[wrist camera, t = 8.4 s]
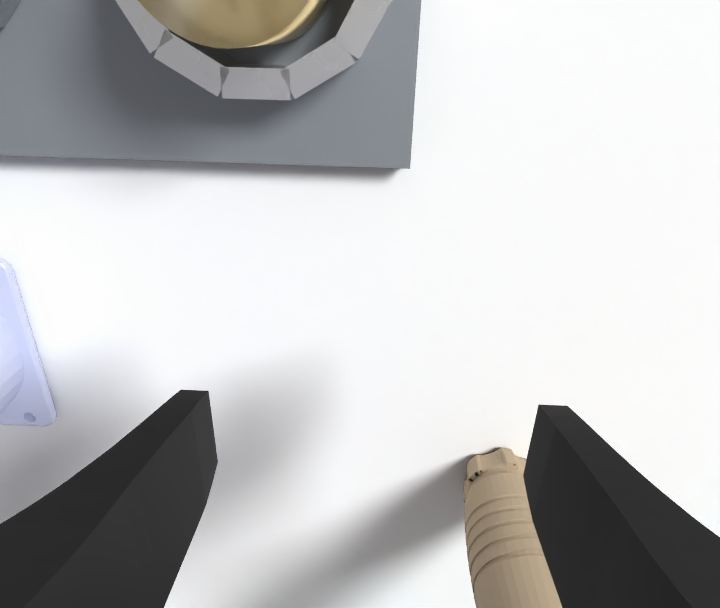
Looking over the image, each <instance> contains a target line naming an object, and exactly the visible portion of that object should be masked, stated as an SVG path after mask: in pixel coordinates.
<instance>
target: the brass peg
mask: <svg viewBox="0 0 720 608" xmlns="http://www.w3.org/2000/svg"><path fill="white" fill-rule="evenodd" d="M138 1H139V2H140V4H141V5H142V6H143V7H144V8H145V9H146V10H147V11H148V12H149V13H150V14H151V15H152V16H153V17H154V18H155V19H156V20H157V21H159V22H160V23H161V24H162V25H163V26H165V27H166V28H168V29H169V30H171V31H172V32H174V33H175V34H177V35H179V36H181V37H183V38H185V39H187V40H189V41H192V42H195V43H198V44H200V45H204V46H209V47H214V48H226V49H231V48H243V47H253V46H263V45H273V44H280V43H285V42H288V41H291V40H293V39H296V38H298V37H300V36H301V35H303V34H305V33H306V32H307V31H309V30H310V29H311V28H312V27H314V25H315V24H316V23H317V22H318V21H319V20H320V19H321V18H322V16H323V15H324V13H325V12H326V11H327V9H328V7H329V5H330V3H331V1H332V0H138Z"/></svg>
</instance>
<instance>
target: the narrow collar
mask: <svg viewBox="0 0 720 608" xmlns="http://www.w3.org/2000/svg"><path fill="white" fill-rule="evenodd" d="M21 1H22V0H0V28H5V27H6V25H7V23H8V22H9V20H10V19H11V17H12V16H13V14H14V12H15V11H16V9H17V8H18V6H19V4H20V3H21Z"/></svg>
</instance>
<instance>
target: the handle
mask: <svg viewBox="0 0 720 608" xmlns="http://www.w3.org/2000/svg"><path fill="white" fill-rule="evenodd" d="M526 460H527V459H525V458H519V457H517V456H515V455H514V454H513V452H512V450H511V449H506V448H499V449H498V450H496V451H495V452H492V453H489V454H485V455H476V456H474V457H473V458H472V459H470V461H469V462H468V464H467V475H468V477H467V479H465V482H464V502H465V532H466V545H467V555H468V561H469V570H470V575H471V582H472V588H473V593H474V599H475V603H476V608H562V605H561V602H560V599H559V596H558V593H557V591H556V588H555V585H554V582H553V579H552V576H551V573H550V570H549V568H548V565H547V562H546V559H545V556H544V553H543V550H542V547H541V544H540V541H539V538H538V536H537V533H536V530H535V527H534V523H533V520H532V516H531V512H530V507H529V503H528V498H527V493H526V488H525V483H524V478H523V473H524V469H525V464H526Z"/></svg>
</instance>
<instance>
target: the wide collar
mask: <svg viewBox="0 0 720 608" xmlns="http://www.w3.org/2000/svg"><path fill="white" fill-rule="evenodd" d="M115 1H116V2H117V4H118V5H119V7H120V8H121V10H122V11H123V13H124V15H125V16H126V18H127V19H128V21H129V22H130V24H131V25H132V27H133V28H134V30H135V31H136V33H137V35H138V36H139V38H140V39H141V41H142V42H143V44H144V45H145V47H146V48H147V50H148V51H149V53H150V54H151V53H155V56H154V58H155V59H157V60H159V61H160V62H162V63H164V64H165V65H167V66H168V67H170V68H172V69H173V70H175V71H177V72H178V73H180V74H181V75H183V76H185V77H186V78H188V79H190V80H191V81H193V82H194V83H196V84H198V85H199V86H201V87H203V88H204V89H206V90H207V91H209V92H211V93H212V94H214V95H215V96H217V97H219V96H222V98H227V99H261V100H292V99H293V98H295V99H296V98H298V97H300V96H301V95H303V94H305V93H306V92H308V91H310V90H311V89H313V88H315V87H316V86H318V85H319V84H321V83H323V82H324V81H326V80H328V79H329V78H331V77H333V76H334V75H336V74H338V73H339V72H341V71H343V70H344V69H346V68H348V67H349V66H351V65H353V64H354V63H356V62H357V61H358V59H360V58H361V57H362V55H363V53H364V51H365V49H366V47H367V46H368V44H369V42H370V40H371V38H372V37H373V35H374V33H375V31H376V29H377V28H378V26H379V24H380V22H381V20H382V19H383V17H384V15H385V13H386V11H387V9H388V8H389V6H390V4H391V2H392V0H354V2H353V4H352V6H351V8H350V10H349V12H348V14H347V16H346V18H345V19H344V21H343V23H342V25H341V27H340V29H339V31H338V33H337V35H336V37H334V38H333V39H331V40H329V41H328V42H326V43H324V44H323V45H321V46H320V47H318V48H316V49H315V50H313V51H312V52H310V53H308V54H307V55H305V56H304V57H302V58H300V59H299V60H297V61H296V62H294V63H292V64H291V65H266V64H242V63H240V62H239V61H237V60H236V59H234V58H233V57H231V56H229V55H228V54H226V53H225V52H223V51H222V50H220V49H218V48H214V47H209V46H204V45H200V44H198V43H195V42H192V41H189V40H187V39H185V38H183V37H181V36H179V35H177V34H175V33H174V32H172V31H171V30H169V29H168V28H166V27H165V26H163V25H162V24H161V23H160V22H159V21H157V20H156V19H155V18H154V17H153V16H152V15H151V14H150V13H149V12H148V11H147V10H146V9H145V8H144V7H143V6H142V5H141V4H140V2H139V1H138V0H115Z"/></svg>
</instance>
